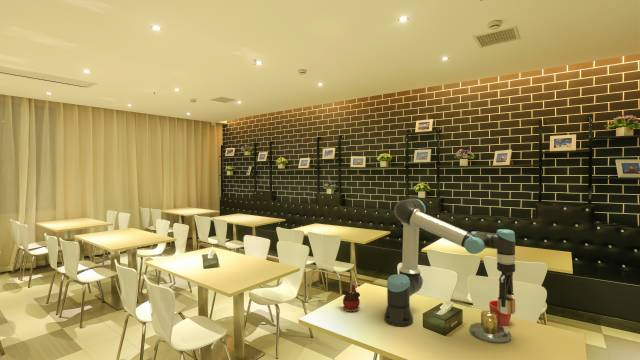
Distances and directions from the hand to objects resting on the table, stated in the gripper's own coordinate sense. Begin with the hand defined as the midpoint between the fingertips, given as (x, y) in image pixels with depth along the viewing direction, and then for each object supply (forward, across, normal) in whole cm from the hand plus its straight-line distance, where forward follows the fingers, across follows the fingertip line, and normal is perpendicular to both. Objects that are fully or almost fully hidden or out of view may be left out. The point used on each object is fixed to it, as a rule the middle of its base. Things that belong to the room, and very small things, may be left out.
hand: (506, 310), depth 157 cm
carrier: (+14, 0, +7) cm, 15 cm away
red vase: (+13, -23, +76) cm, 80 cm away
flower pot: (+14, +17, +7) cm, 23 cm away
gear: (0, 0, 0) cm, 0 cm away
